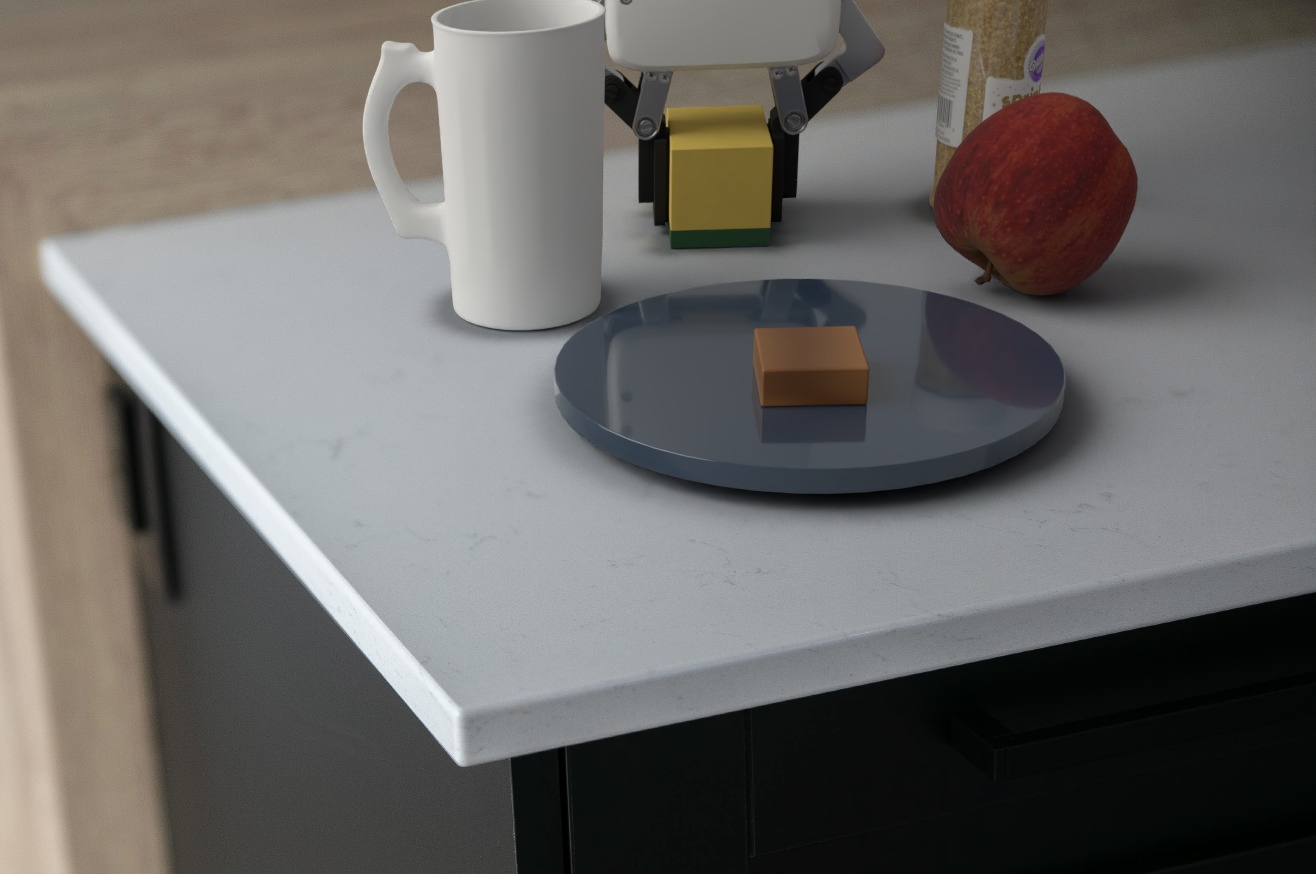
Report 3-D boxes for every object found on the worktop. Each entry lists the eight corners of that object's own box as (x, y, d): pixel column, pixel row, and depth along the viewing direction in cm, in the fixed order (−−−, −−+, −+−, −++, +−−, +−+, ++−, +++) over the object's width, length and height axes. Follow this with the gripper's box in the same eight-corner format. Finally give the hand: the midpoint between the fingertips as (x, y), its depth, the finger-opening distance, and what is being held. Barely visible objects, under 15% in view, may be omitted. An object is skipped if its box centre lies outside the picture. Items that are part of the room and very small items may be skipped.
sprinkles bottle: (1025, 226, 83) (1059, -91, 77) (920, 220, 85) (945, -91, 78) (1033, 195, 87) (1066, -109, 80) (933, 190, 88) (957, -109, 82)
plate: (1008, 308, 75) (1012, 272, 74) (1115, 507, 59) (1121, 464, 58) (559, 319, 77) (558, 284, 76) (548, 514, 61) (547, 473, 61)
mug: (621, 281, 80) (619, -6, 74) (591, 337, 75) (587, 32, 69) (397, 273, 83) (379, -5, 77) (352, 327, 77) (329, 32, 72)
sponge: (665, 201, 90) (666, 108, 87) (758, 198, 89) (761, 104, 87) (670, 248, 84) (671, 149, 81) (769, 246, 83) (773, 146, 81)
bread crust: (854, 361, 67) (856, 325, 66) (867, 406, 64) (870, 367, 63) (752, 363, 67) (754, 327, 67) (760, 407, 64) (762, 369, 63)
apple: (1143, 321, 73) (1173, 116, 69) (938, 324, 74) (955, 123, 70) (1104, 258, 79) (1129, 67, 75) (916, 262, 80) (930, 74, 76)
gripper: (920, -234, 80) (891, 185, 88) (525, -211, 81) (536, 197, 90) (949, -215, 73) (914, 236, 82) (518, -190, 75) (530, 247, 84)
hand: (716, 211), depth 86 cm, fingers closed on sponge, 4 cm apart
